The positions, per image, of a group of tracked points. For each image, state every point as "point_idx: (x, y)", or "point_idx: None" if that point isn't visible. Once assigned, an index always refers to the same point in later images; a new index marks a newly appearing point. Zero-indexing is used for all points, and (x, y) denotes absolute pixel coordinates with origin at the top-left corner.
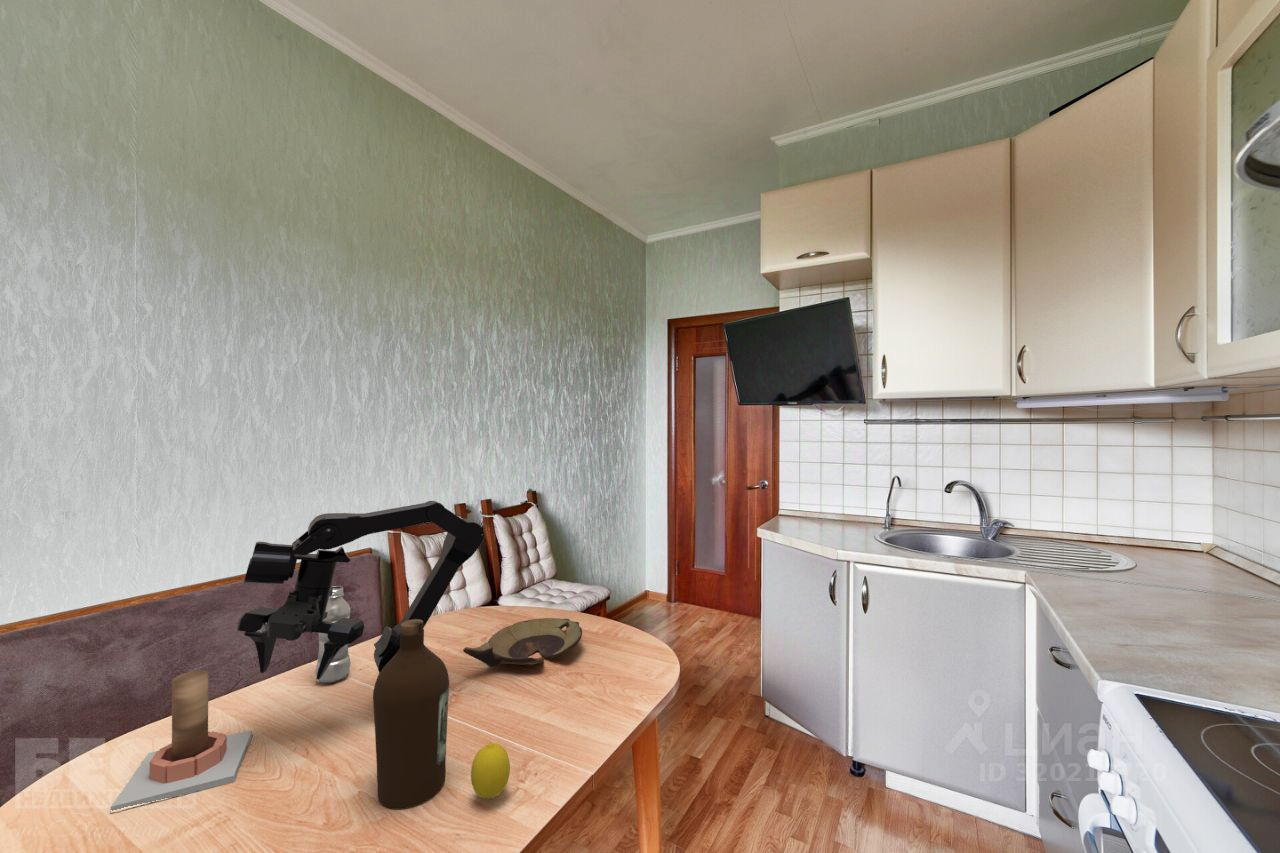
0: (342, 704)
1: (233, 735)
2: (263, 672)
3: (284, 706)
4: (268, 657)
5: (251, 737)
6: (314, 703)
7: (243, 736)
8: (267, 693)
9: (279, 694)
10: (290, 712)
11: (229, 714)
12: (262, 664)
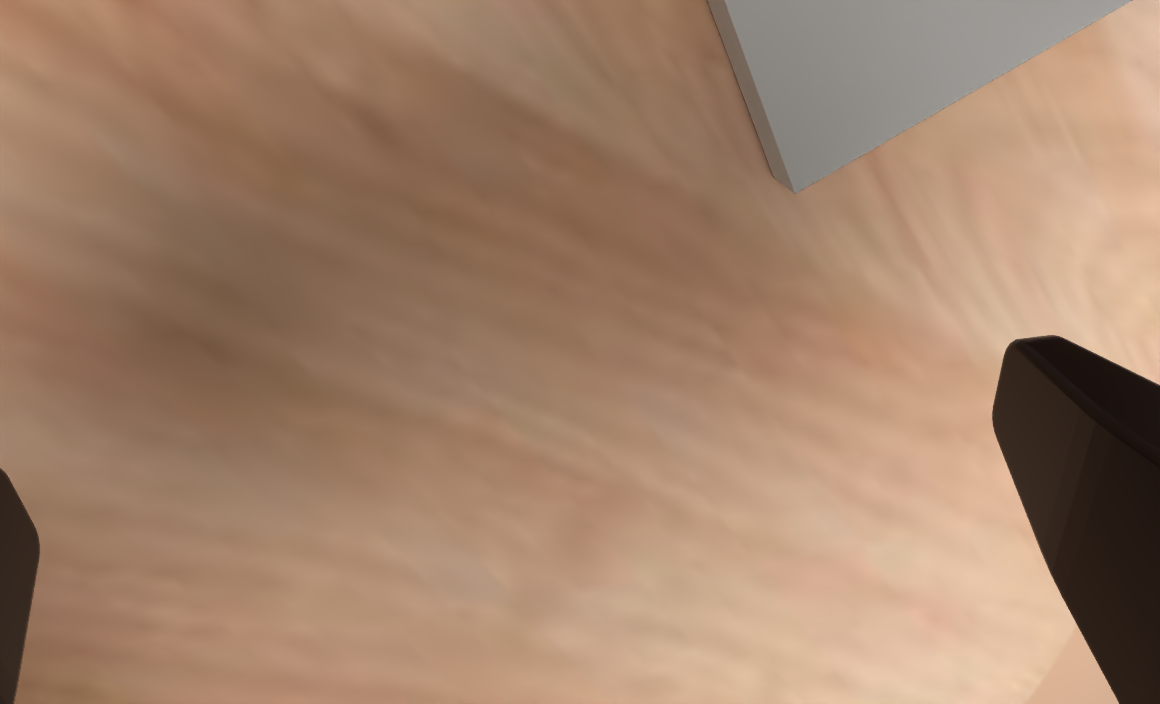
0: (322, 621)
1: (897, 104)
2: (1008, 349)
3: (760, 530)
4: (1138, 599)
5: (762, 144)
6: (563, 595)
7: (810, 93)
8: (954, 631)
9: (874, 636)
10: (670, 475)
11: None
12: (1138, 415)
